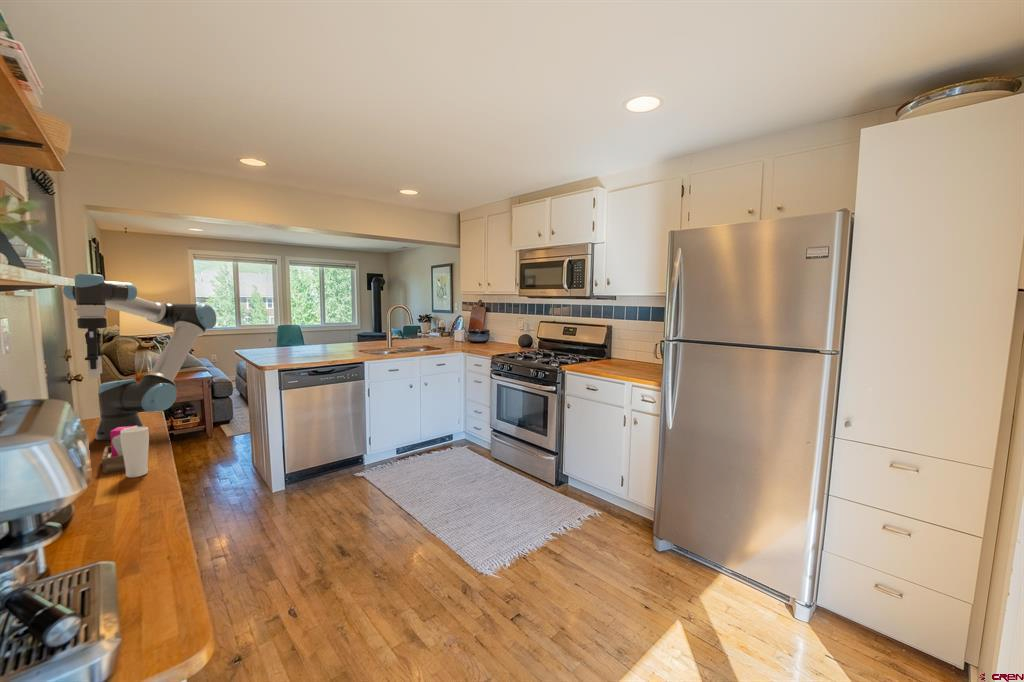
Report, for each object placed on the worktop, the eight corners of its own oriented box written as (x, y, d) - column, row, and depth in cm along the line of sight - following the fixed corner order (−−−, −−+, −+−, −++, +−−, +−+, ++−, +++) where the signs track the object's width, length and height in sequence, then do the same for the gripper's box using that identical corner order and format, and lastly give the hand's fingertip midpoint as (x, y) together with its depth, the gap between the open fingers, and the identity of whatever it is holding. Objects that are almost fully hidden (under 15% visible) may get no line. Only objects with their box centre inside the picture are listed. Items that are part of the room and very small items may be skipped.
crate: (106, 460, 150) (105, 446, 150) (147, 453, 157) (146, 440, 157) (103, 474, 138) (102, 459, 137) (147, 466, 145) (147, 451, 145)
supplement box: (140, 456, 151) (138, 424, 151) (133, 462, 146) (131, 429, 145) (119, 458, 149) (117, 426, 148) (111, 464, 144) (109, 431, 143)
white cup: (122, 481, 133) (119, 433, 132) (123, 474, 138) (120, 428, 137) (150, 475, 137) (148, 429, 136) (151, 469, 142) (148, 425, 141)
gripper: (80, 316, 161) (84, 372, 162) (72, 318, 142) (77, 381, 143) (108, 316, 166) (111, 370, 167) (104, 318, 147) (108, 379, 148)
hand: (95, 375), depth 155 cm, fingers open, 13 cm apart
